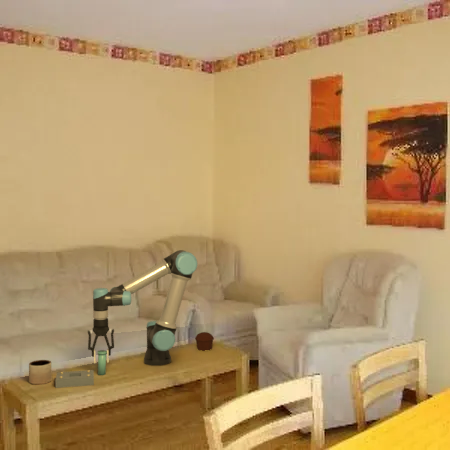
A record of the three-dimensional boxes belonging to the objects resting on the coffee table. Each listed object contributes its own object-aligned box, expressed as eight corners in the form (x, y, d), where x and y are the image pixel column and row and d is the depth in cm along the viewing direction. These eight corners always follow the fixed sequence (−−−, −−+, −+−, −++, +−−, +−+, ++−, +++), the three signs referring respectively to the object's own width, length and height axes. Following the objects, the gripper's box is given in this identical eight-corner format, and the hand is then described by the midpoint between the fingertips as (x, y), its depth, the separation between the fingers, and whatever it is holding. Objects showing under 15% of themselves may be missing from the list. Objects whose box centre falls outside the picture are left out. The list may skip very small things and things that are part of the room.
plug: (106, 372, 303) (106, 350, 302) (106, 375, 298) (107, 352, 298) (96, 372, 302) (97, 350, 301) (97, 375, 297) (97, 352, 296)
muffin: (217, 348, 350) (217, 332, 350) (206, 352, 342) (206, 335, 341) (203, 345, 358) (202, 329, 357) (191, 349, 349) (191, 333, 349)
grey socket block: (93, 377, 294) (93, 368, 294) (93, 385, 282) (93, 375, 282) (57, 380, 290) (56, 371, 290) (55, 387, 278) (55, 378, 278)
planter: (33, 378, 294) (33, 359, 293) (54, 378, 293) (54, 359, 293) (25, 385, 283) (25, 365, 282) (47, 385, 282) (47, 365, 282)
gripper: (118, 315, 304) (119, 359, 305) (82, 317, 300) (82, 361, 301) (119, 318, 297) (120, 363, 298) (81, 320, 293) (82, 365, 294)
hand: (101, 362), depth 299 cm, fingers open, 6 cm apart
